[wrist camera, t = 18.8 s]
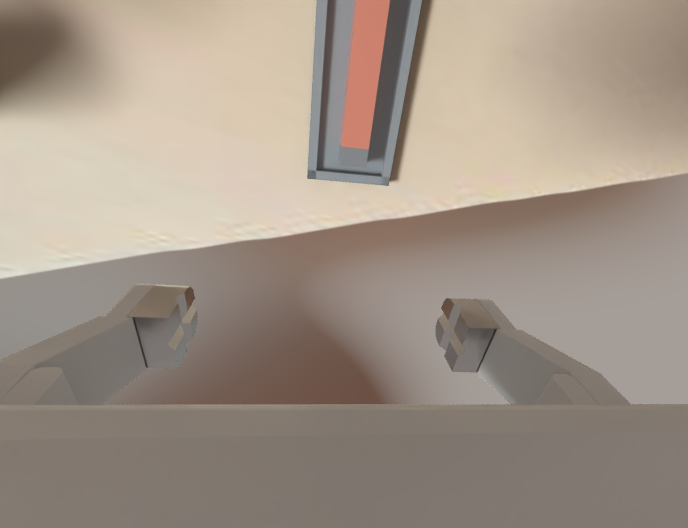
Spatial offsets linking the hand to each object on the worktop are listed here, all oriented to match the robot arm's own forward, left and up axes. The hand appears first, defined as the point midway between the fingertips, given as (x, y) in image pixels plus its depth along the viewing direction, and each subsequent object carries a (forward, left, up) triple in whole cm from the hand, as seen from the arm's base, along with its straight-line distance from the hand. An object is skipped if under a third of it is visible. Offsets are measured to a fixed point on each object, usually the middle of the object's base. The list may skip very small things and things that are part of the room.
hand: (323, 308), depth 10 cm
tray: (+4, +9, -31) cm, 33 cm away
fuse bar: (+4, +8, -30) cm, 32 cm away
